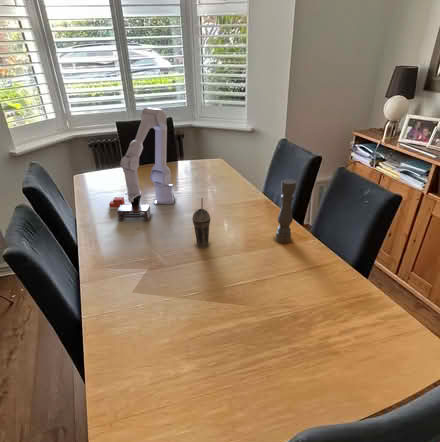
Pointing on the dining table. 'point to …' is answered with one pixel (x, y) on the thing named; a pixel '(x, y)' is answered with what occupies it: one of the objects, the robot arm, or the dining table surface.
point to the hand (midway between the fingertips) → (136, 210)
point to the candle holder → (285, 211)
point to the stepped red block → (116, 202)
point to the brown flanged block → (134, 211)
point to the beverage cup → (201, 226)
